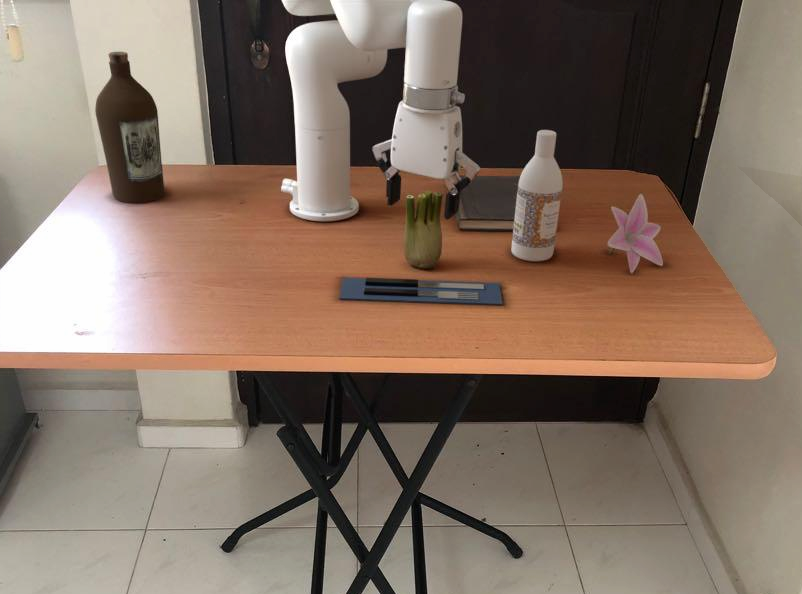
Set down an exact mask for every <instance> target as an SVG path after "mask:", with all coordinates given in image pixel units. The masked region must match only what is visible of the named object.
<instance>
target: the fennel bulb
mask: <svg viewBox="0 0 802 594" xmlns="http://www.w3.org/2000/svg"><path fill="white" fill-rule="evenodd" d="M443 197H444V195H443V193H441V192H433V191H429V190H427V191H425V193H420V194H418V195H417V202H416V204H415V197H414V196H413V195H411V194H408V195H406V196H405V204H406V205H405V207H406V209H405V228H404V238H403V250H404V256H405V260H406V262H407V264H408V265H409V266H413V267H417V268H419V269H424V270H426V269H431V268H434V267H436V265H437V264H438V262H439V260H440V259H441V255H442V250H443V249H442V248H443V231H442V223H441V211H442V204H443ZM415 206H416V207H415Z"/></svg>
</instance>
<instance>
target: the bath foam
mask: <svg viewBox="0 0 802 594" xmlns="http://www.w3.org/2000/svg"><path fill="white" fill-rule="evenodd" d="M556 141H557V132H556V131H554V130H551V129H540V130H538V131H537V133H536V140H535V150H534V155H533V156H532V158H531V159H530V160H529V161H528V163H526V165H525V167H524V168H523V170H522V172H521V173H520V175H519V176H520V179H519V184H518V192H517V201H516V210H515V219H514V228H513V232H512V237H511V238H512V239H511V248H510V249H511V254H512V255H513V256H514V257H515V258H517V259H519V260H523V261H526V262H543V261H547V260H550V259H551V258H552V257H553V255H554V251H555V245H556V238H557V232H558V231H557V230H558V223H559V215H560V208H561V202H562V196H563V195H562V194H563V182H564V181H563V175H562V172H561V169H560V166H559V164H558V162H557V161H556V158H555V149H556Z"/></svg>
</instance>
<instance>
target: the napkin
mask: <svg viewBox="0 0 802 594" xmlns="http://www.w3.org/2000/svg"><path fill="white" fill-rule="evenodd" d="M366 278H367V277H343V278H342V284H341V289H340V293H339V301H340V300H342V301H365V302H368V301H369V302H395V303H396V302H397V303H419V304H420V303H421V304H422V303H423V304H447V305H448V304H449V305H450V304H451V305H476V306H478V305H479V306H503V298H502V291H501V287H500V283H499V282H480V281H479V282H475V281H453V280H452V281H450V280H425V279H424V280H422V279H421V280H419V279H417V280H418V282H434V283H461V284H483V285H484V290H465V289H437V288H418V287H393V286H366V285H365V280H366ZM364 288H384V289H411V290H418V292H438V291H451V292H468V293H478V298H479V300H454V299H438V297H421V296H417V297H416V296H388V295H364Z"/></svg>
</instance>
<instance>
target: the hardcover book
mask: <svg viewBox="0 0 802 594" xmlns="http://www.w3.org/2000/svg"><path fill="white" fill-rule="evenodd" d="M458 175H459V177H460V179H461V180H462V179H463V178H464V177H465V175H466V174H463V175H461V174H458ZM520 176H521V175H519V176H517V175H516V176H515V175H507V176H506V175H476V177H475V178H474V179H473V181H472V183H470V184H469V185H468V186H466V187H465V188H464V189H462V190H461V191H460V202H459V210H458V212H457V213H455V215H454V216H455V219H456V225H457V228H458V230H459V231H461V232H512V233H513V228H514V219H515V210H516V201H517V192H518V184H519V179H520Z"/></svg>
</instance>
